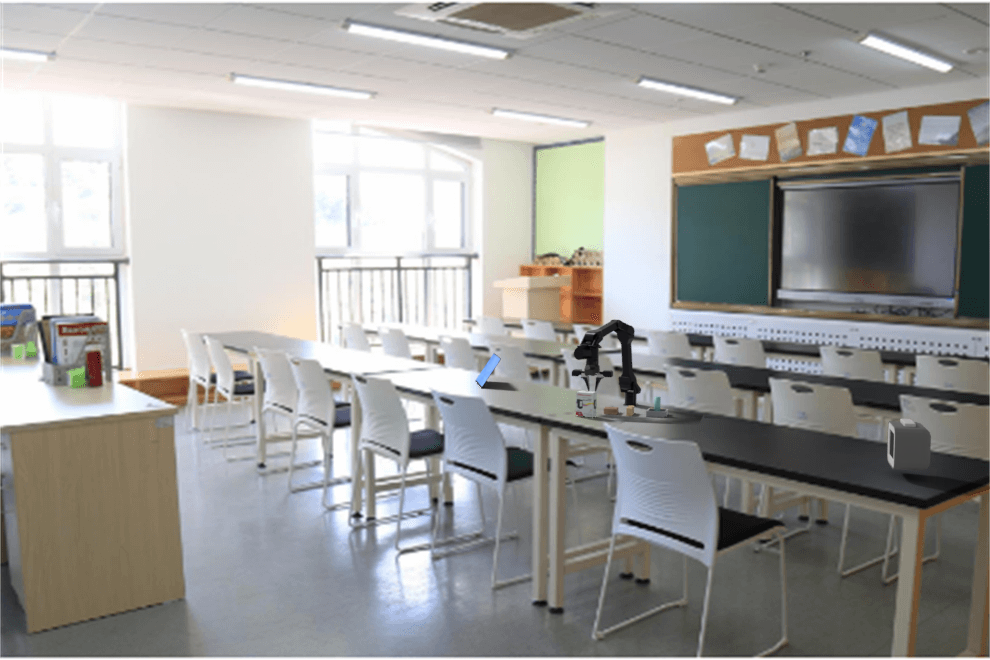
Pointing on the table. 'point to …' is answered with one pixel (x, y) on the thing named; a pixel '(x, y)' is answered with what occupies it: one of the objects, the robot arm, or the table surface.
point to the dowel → (657, 403)
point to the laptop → (488, 370)
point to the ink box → (586, 403)
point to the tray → (656, 413)
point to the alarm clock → (908, 445)
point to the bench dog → (629, 410)
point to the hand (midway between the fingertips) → (592, 391)
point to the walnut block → (611, 410)
